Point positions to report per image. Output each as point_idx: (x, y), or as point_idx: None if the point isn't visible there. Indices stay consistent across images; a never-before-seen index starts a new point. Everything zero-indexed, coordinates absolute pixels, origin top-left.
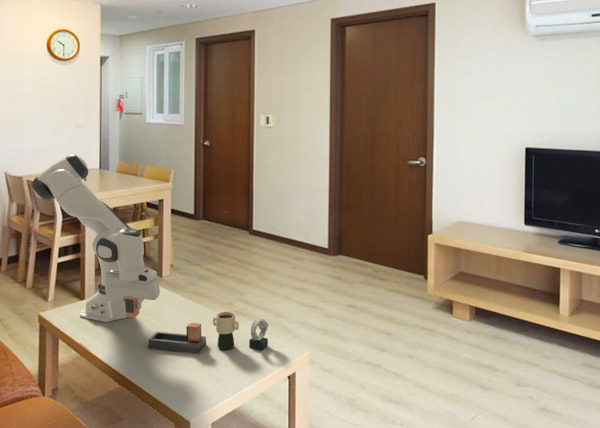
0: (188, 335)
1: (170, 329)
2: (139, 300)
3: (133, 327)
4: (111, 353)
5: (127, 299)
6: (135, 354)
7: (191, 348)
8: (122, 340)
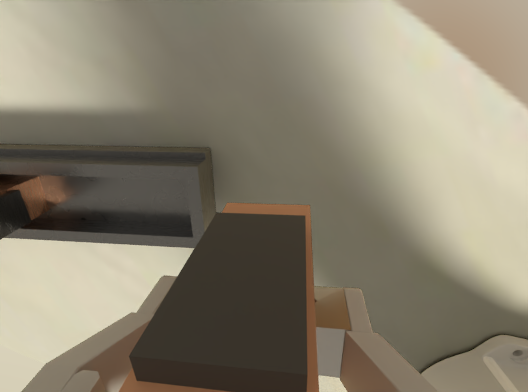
0: None
1: None
2: (71, 380)
3: None
4: (361, 62)
5: (264, 385)
6: (236, 81)
7: (6, 155)
8: (363, 200)
